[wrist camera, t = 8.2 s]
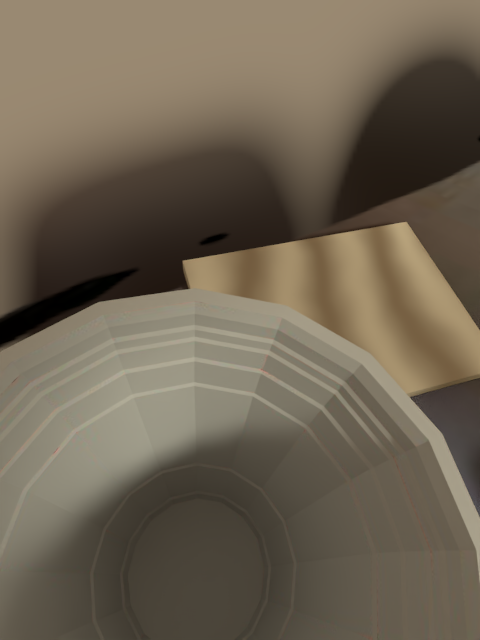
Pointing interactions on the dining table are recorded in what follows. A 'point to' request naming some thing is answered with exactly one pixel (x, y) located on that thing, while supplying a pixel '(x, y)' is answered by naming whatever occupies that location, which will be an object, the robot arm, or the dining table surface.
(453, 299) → the birch board
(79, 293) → the dining table surface
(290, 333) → the plastic cup
